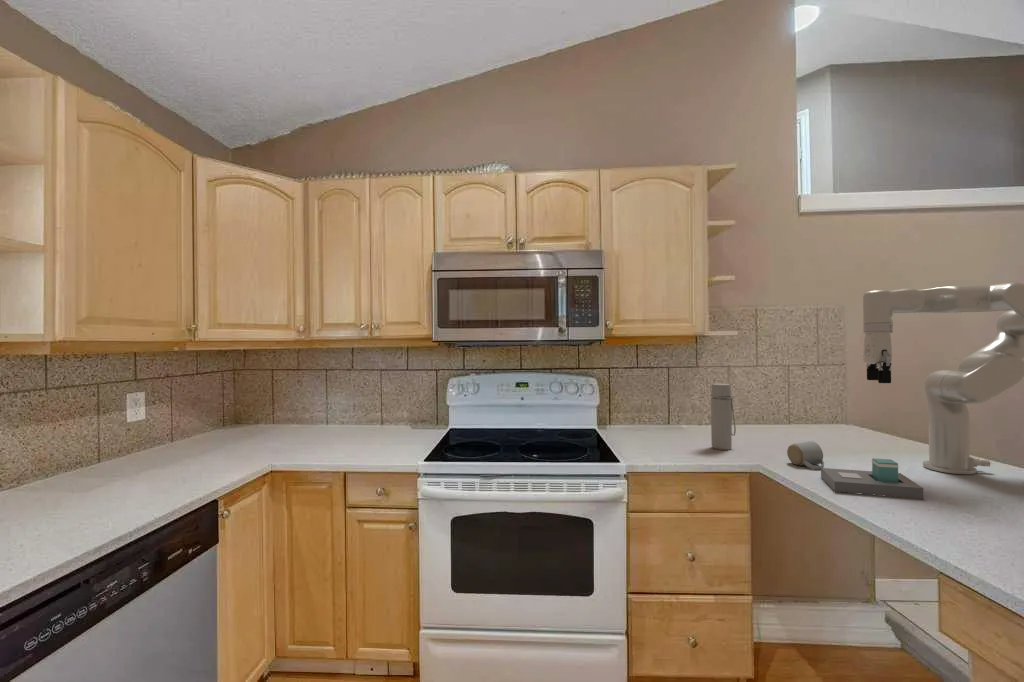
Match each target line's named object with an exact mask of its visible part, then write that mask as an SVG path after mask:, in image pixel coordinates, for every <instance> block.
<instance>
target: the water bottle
mask: <svg viewBox="0 0 1024 682" xmlns="http://www.w3.org/2000/svg"><path fill="white" fill-rule="evenodd" d="M731 387H732V386H731V384H730V383H721V382H720V383H719V382H718V383H711V389H710V390H711V391H710V397H711V398H710V416H711V417H710V419H711V420H710V423H711V424H710V425H711V426H710V427H711V429H710V430H711V434H710V435H711V447H712V448H713V449H715V450H720V451H727V450H728V451H729V450H731V449H732V448H733V447H732V442H733V441H732V439H733V437H732V436H736V430H737V428H736V427H737V426H736V420H735V413H734V405H733V399H734V397H733V396H732V390H731ZM732 422H733V423H732ZM732 425H733V426H732ZM733 427H734V428H733ZM732 428H733V429H734V431H733V430H732ZM732 431H733V432H732Z"/></svg>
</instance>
